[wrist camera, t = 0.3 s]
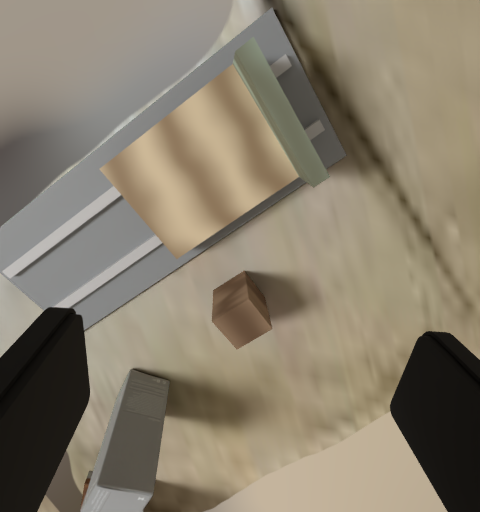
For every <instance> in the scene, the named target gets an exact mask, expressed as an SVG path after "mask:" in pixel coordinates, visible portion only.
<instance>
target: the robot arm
mask: <svg viewBox="0 0 480 512" xmlns="http://www.w3.org/2000/svg"><path fill="white" fill-rule="evenodd" d="M89 397H90V386H89V376H88V366H87V356H86V346H85V336H84V326H83V318H82V315H80V314H76V311H75V310H74V309H73V308H60V307H48V308H47V309H46V310H45V311H44V312H43V313H42V314H41V315H40V316H39V317H38V318H37V319H36V320H35V321H34V322H33V323H32V324H31V326H30V327H29V328H28V329H27V330H26V331H25V332H24V333H23V334H22V335H21V336H20V337H19V338H18V339H17V341H16V342H15V343H14V344H13V345H12V346H11V347H10V348H9V349H8V350H7V351H6V352H5V353H4V354H3V356H2V357H1V358H0V512H37V511H38V509H39V506H40V504H41V502H42V500H43V498H44V496H45V494H46V491H47V489H48V487H49V485H50V483H51V481H52V479H53V477H54V475H55V473H56V470H57V468H58V466H59V464H60V462H61V460H62V458H63V456H64V453H65V451H66V449H67V447H68V445H69V443H70V441H71V439H72V437H73V434H74V432H75V430H76V428H77V426H78V424H79V422H80V420H81V417H82V415H83V413H84V411H85V409H86V407H87V404H88V401H89ZM390 410H391V414H392V416H393V418H394V420H395V422H396V424H397V425H398V427H399V429H400V430H401V432H402V434H403V436H404V437H405V439H406V441H407V442H408V444H409V446H410V448H411V449H412V451H413V453H414V454H415V456H416V458H417V460H418V461H419V463H420V465H421V467H422V468H423V470H424V472H425V474H426V475H427V477H428V479H429V480H430V482H431V484H432V485H433V487H434V489H435V491H436V492H437V494H438V496H439V498H440V499H441V501H442V503H443V505H444V506H445V508H446V509H447V511H448V512H480V360H479V359H478V358H477V357H476V356H475V355H474V354H473V353H471V352H470V351H469V350H468V349H467V348H466V347H465V346H464V345H463V344H462V343H461V342H459V341H458V340H457V339H456V338H455V337H454V336H453V335H451V334H450V333H446V332H432V331H428V332H425V333H424V334H423V335H422V336H420V337H419V338H418V339H417V341H416V344H415V346H414V349H413V351H412V353H411V356H410V358H409V360H408V363H407V365H406V368H405V370H404V372H403V375H402V377H401V379H400V382H399V384H398V387H397V389H396V391H395V394H394V396H393V398H392V401H391V404H390Z"/></svg>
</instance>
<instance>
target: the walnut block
mask: <svg viewBox="0 0 480 512" xmlns="http://www.w3.org/2000/svg"><path fill="white" fill-rule="evenodd" d="M212 322H213V323H214V324H215V325H216V326H217V328H218V329H219V330H220V331H221V332H222V333H223V334H224V335H225V337H226V338H227V339H228V340H229V341H230V342H231V343H232V344H233V346H234V347H235V348H236V349H239V348H240V347H242V346H244V345H245V344H247V343H249V342H251V341H252V340H254V339H256V338H258V337H259V336H261V335H263V334H264V333H266V332H268V331H270V330H271V329H272V325H271V321H270V317H269V313H268V309H267V304H266V300H265V297H264V296H263V294H262V293H261V292H260V290H259V289H258V288H257V286H256V285H255V284H254V283H253V281H252V280H251V279H250V277H249V276H248V275H247V273H246V272H245V271H243V272H241V273H240V274H238V275H237V276H235V277H234V278H232V279H230V280H229V281H227V282H226V283H224V284H223V285H221V286H219V287H218V288H216V289H215V290H213V310H212Z"/></svg>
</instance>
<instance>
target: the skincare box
mask: <svg viewBox="0 0 480 512" xmlns="http://www.w3.org/2000/svg"><path fill="white" fill-rule="evenodd" d="M169 384H170V381H168V380H165V379H161V378H158V377H154V376H151V375H147V374H145V373H141V372H138V371H135V370H133V369H131V370H130V371H129V373H128V375H127V377H126V379H125V381H124V383H123V385H122V387H121V389H120V392H119V394H118V397H117V399H116V402H115V405H114V408H113V411H112V414H111V417H110V421H109V424H108V427H107V430H106V433H105V436H104V439H103V442H102V446H101V449H100V452H99V455H98V458H97V461H96V464H95V467H94V470H93V473H92V477H91V480H90V483H89V486H88V489H87V492H86V495H85V498H84V501H83V504H82V507H81V510H80V512H143V509H144V508H145V507H146V505H147V504H148V502H149V501H150V499H151V498H152V496H153V493H154V486H155V479H156V473H157V466H158V459H159V452H160V445H161V438H162V431H163V425H164V418H165V411H166V404H167V397H168V391H169Z"/></svg>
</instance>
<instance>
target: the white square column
mask: <svg viewBox="0 0 480 512" xmlns="http://www.w3.org/2000/svg"><path fill="white" fill-rule="evenodd" d="M92 473H93V471H89V473H88V476H87V479H86V481H85V485H84V491H83V496H82V502H81V507H82V504H83V501H84V498H85V495H86V492H87V489H88V486H89V483H90V480H91V477H92ZM80 510H81V508H80Z"/></svg>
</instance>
